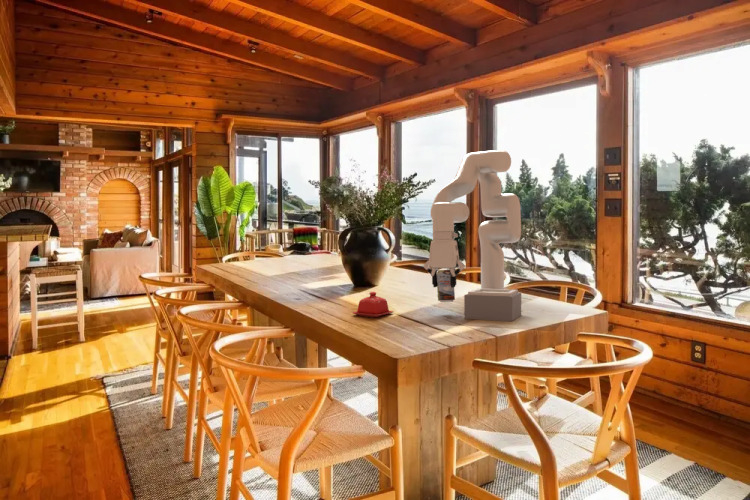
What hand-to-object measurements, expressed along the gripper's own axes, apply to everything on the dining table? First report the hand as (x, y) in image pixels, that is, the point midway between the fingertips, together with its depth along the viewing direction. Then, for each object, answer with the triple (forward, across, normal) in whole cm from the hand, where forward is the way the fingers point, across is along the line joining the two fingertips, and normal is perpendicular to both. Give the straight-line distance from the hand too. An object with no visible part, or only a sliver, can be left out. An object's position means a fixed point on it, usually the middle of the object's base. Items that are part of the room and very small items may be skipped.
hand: (444, 286), depth 197 cm
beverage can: (+6, 0, 0) cm, 6 cm away
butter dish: (+10, +23, +12) cm, 28 cm away
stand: (+10, -18, +1) cm, 20 cm away
